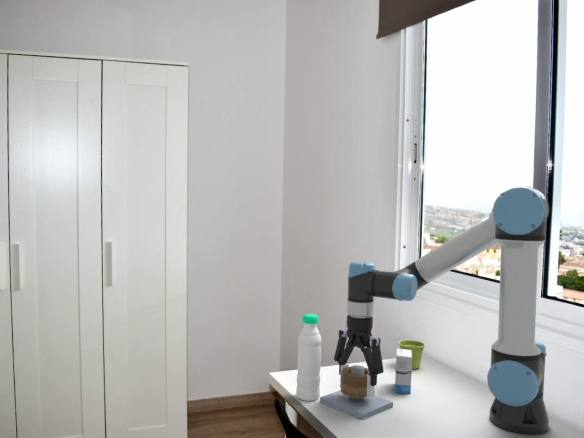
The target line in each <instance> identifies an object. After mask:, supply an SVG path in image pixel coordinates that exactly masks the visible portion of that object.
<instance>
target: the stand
mask: <svg viewBox="0 0 584 438" xmlns="http://www.w3.org/2000/svg"><path fill="white" fill-rule="evenodd" d="M350 367H351V374H354V375H364V373H365V368H366V367H364V366H363V365H355V364H354V365H351V366H350ZM319 403H320V404H323V405H326V406H328V407H331V408H334V409H335V410H339V411H341V412H343V413H345V414H348V415H351V416H353V417H356V418H357V419H361V420H365V419H368V418H370V417H372V416H374V415H377V414H380V413H382V412H385V411H386V410H389V409H391V408H394V401H392V400H389V399H387V398H383V397H380V396H378V395H375V394H374V396H371V397H369V398H368V397H366V398H355V397H349V396H347V395H344V394H343V393H342V392H341V389H340V390H338V391H334V392H331V393H328V394H325V395H323V396H319Z"/></svg>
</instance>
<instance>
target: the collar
mask: <svg viewBox="0 0 584 438" xmlns="http://www.w3.org/2000/svg"><path fill="white" fill-rule="evenodd" d="M364 368H365V373H364V375H354V374H351V366H349V367H346V368H343V369H342V371H341V387H340V390H341V392H342V393H343V394H344V395H347V396H349V397H355V398H366V397H367V374H370V372H369V369H368V367H364Z"/></svg>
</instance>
